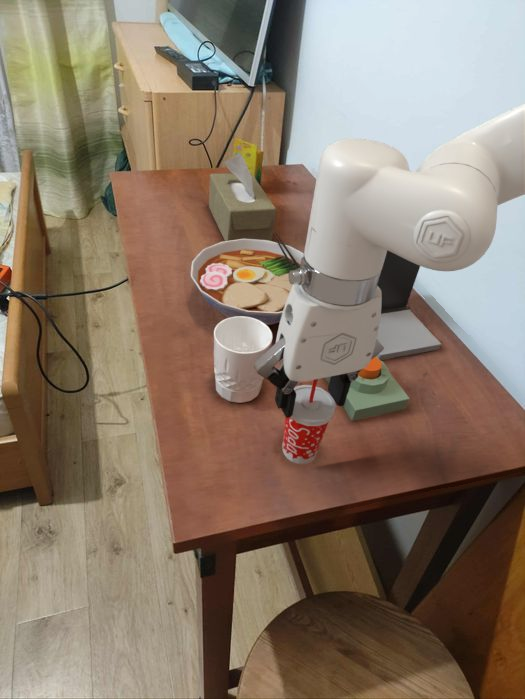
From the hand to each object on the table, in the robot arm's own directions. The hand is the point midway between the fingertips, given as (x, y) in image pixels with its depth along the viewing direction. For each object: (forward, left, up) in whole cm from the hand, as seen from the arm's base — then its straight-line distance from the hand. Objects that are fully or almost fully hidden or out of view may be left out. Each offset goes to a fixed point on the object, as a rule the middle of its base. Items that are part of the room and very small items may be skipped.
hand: (310, 402), depth 61 cm
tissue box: (+61, -12, -9) cm, 63 cm away
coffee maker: (+22, -26, -9) cm, 35 cm away
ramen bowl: (+31, -5, -9) cm, 33 cm away
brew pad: (+8, -14, -9) cm, 18 cm away
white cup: (+13, +4, -9) cm, 17 cm away
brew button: (+8, -14, -5) cm, 17 cm away
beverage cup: (0, 0, -9) cm, 9 cm away
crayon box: (+80, -20, -9) cm, 83 cm away
